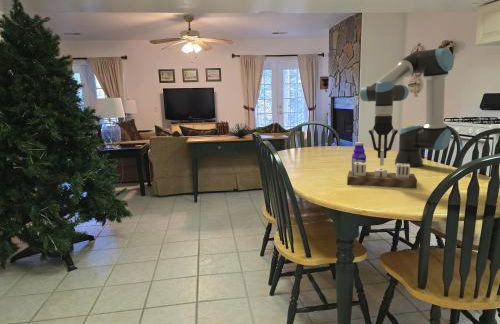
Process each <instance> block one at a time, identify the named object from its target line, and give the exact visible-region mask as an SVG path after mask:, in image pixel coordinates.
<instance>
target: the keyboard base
mask: <svg viewBox="0 0 500 324" xmlns="http://www.w3.org/2000/svg"><path fill="white" fill-rule="evenodd" d="M346 184H347V186H358V187H359V186H363V187H377V188H378V187H379V188H392V189H393V188H395V189H409V190H411V189H412V190H417V189H418V188H417V187H418V179H417V177H416V175H415V173H410V175H409V178H396V172H387V177H375V171H366V176H355V175H354V171H352V170H349V171H348V173H347V178H346Z"/></svg>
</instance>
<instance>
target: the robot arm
mask: <svg viewBox="0 0 500 324" xmlns="http://www.w3.org/2000/svg"><path fill="white" fill-rule="evenodd" d="M454 62H455V61H454V56H453V53H452V52H451V50H450V49H449V48H445V47H443V48H435V49H426V50H418V51H415V52H413V53H411V54H408V55H407V56H405V57H404V58H402V59H400V60H399V61H397V63H396V66H395V67H393V68H392V69H390V71H388V72H387V73H385V74H384V75H383V76H381V78H379V79H378V80H377V81H375V82H374V83H372V84H371V85H369V86H368V85H367V86H363V87H361V89H360V92H359V96H360V100H361V101H362V102H375V104H374V114H375V116H374V126H373V127H372V128H371V129H369V130H368V133H369V135H370V138H371V142H372V146H373V147H372V148H373V150H374V151H377V159H379V166H384V161H385V159H387V153H388V152H389V151H391V150H392V147H393V143H394V141H395V138H396V135H397V134H398V132H399V135H398V136H399V139H398V141H399V142H398V152H397V155H396V157H395V159H394V164H395V165H396V163H398V164H405V163H407V164H409V165H410V168H411V167H413V168H414V167H415V168H416V167H422V166H423V162H424V161H423V158H422V157H423V156H422V154H421V149H422V150H423V149H425V150H433V151H443V150H445V149H446V148H447V147H448V146H449V144H450V142H451V140H452V132H451V130H450V129H449V128H447V127H448V126H447V124H446V123H445V122H444V121H445V116H444V115H445V88H446V87H445V86H446V85H445V83H446V81H445V80H446V77H447V76H448V75H449V72H451V71H452V70H453V67H454ZM413 74H415V75H416V74H423V78H424V79H425V80H426V82H425V83H426V85H425V86H426V88H425V90H426V92H425V93H426V94H425V95H426V97H425V103H426V104H425V123H424V124H423V125H410V126H402V127H401V128H400V129H399V130H397V129H396V128H394V126H393V115H392V114H393V109H394V108H393V107H394V102H401V101H404V100H405V99H407V98H408V96H409V94H410V92H409V88H408V87H407V86H406V85H404V84H399V83H400V82H401V81H402V80H403V79H405V78H407V77H408V78H409V77H410V76H411V75H413ZM374 133H376V134H377V136H378V137H377V138H378V140H377V145H376V139H375V136H374V135H375V134H374ZM390 133H392V134H391V136H390V140H389V143H388V135H389V134H390ZM382 136H383V137H384V138H383V150H381V149H382Z"/></svg>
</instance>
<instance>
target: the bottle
mask: <svg viewBox="0 0 500 324" xmlns="http://www.w3.org/2000/svg"><path fill="white" fill-rule="evenodd" d="M365 152H366V150H365V149H364V142H362V141H358V142H357V141H356V142H354V149H353V153H352V155H351V171H354V163H355V162H366V163H367V156H366V153H365Z"/></svg>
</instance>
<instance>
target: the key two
mask: <svg viewBox="0 0 500 324" xmlns="http://www.w3.org/2000/svg"><path fill="white" fill-rule="evenodd" d="M366 172H367V161H366V162H355V163H354V175H355V176H366Z"/></svg>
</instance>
